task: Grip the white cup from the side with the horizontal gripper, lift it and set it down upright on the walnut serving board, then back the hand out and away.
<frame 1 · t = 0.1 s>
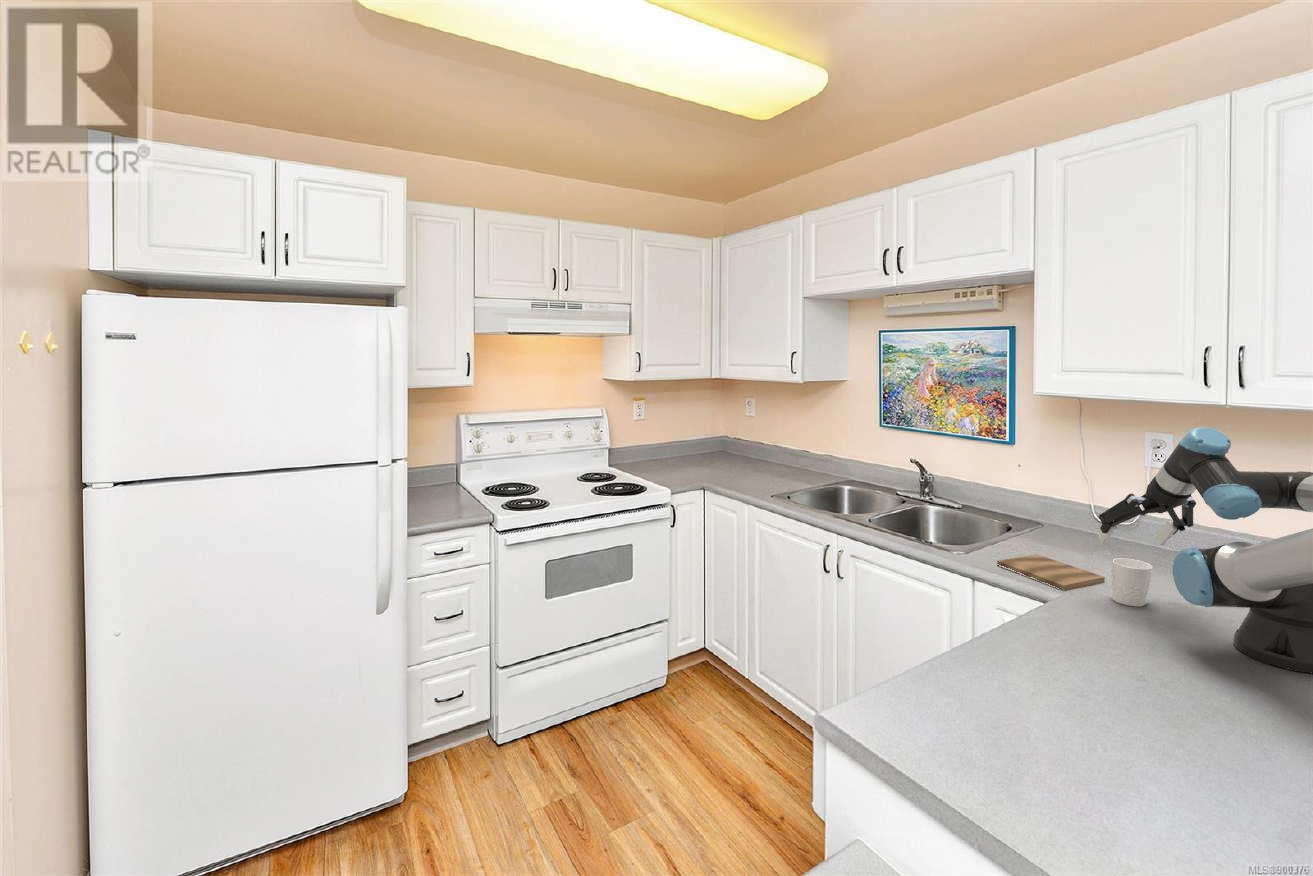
hand: (1129, 540, 153), 15 cm above the worktop, tool tilted 35°, fingers open, 13 cm apart
white cup: (1128, 602, 152), on the worktop
walnut board: (1048, 573, 171), on the worktop
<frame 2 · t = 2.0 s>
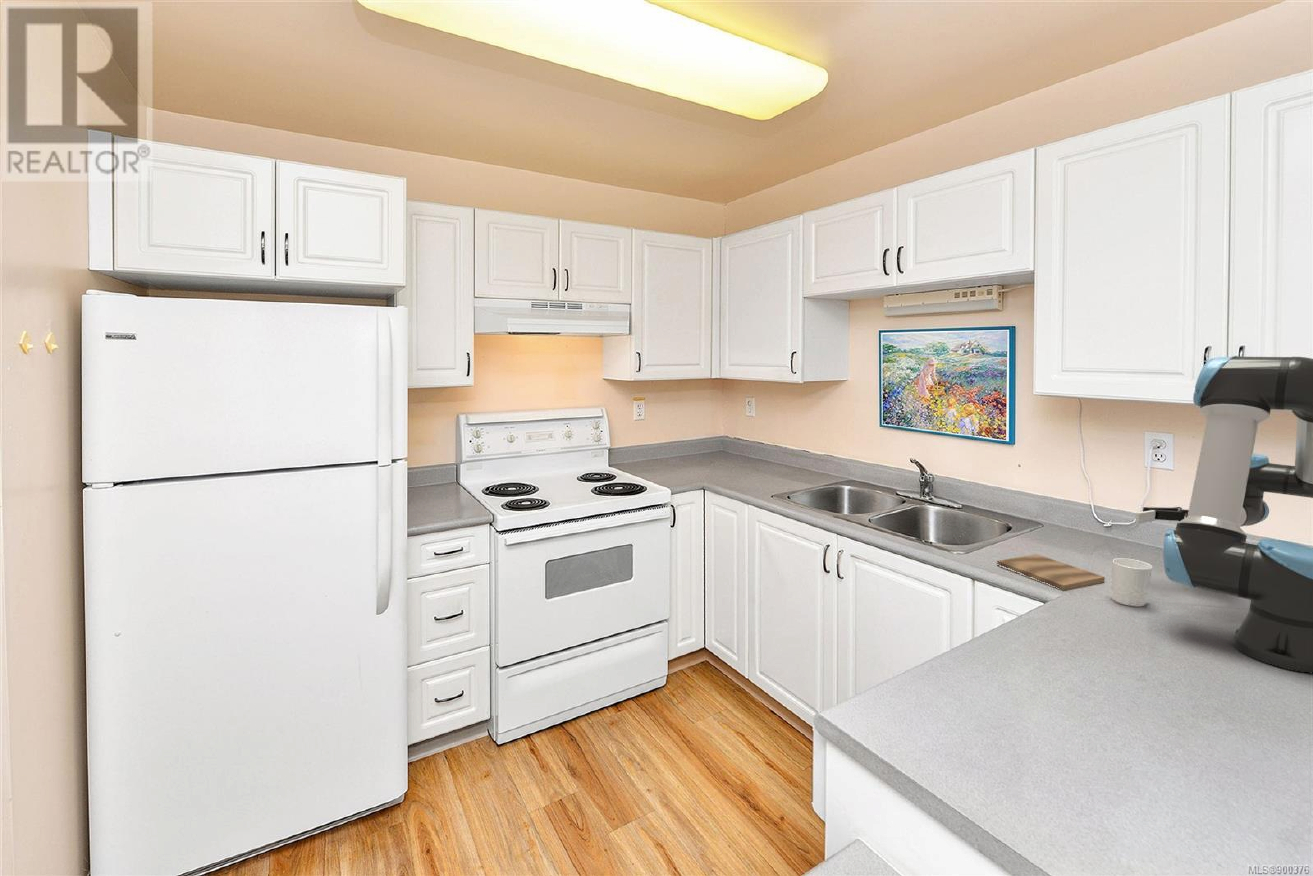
hand: (1166, 525, 151), 19 cm above the worktop, tool horizontal, fingers open, 13 cm apart
nothing on the worktop moved.
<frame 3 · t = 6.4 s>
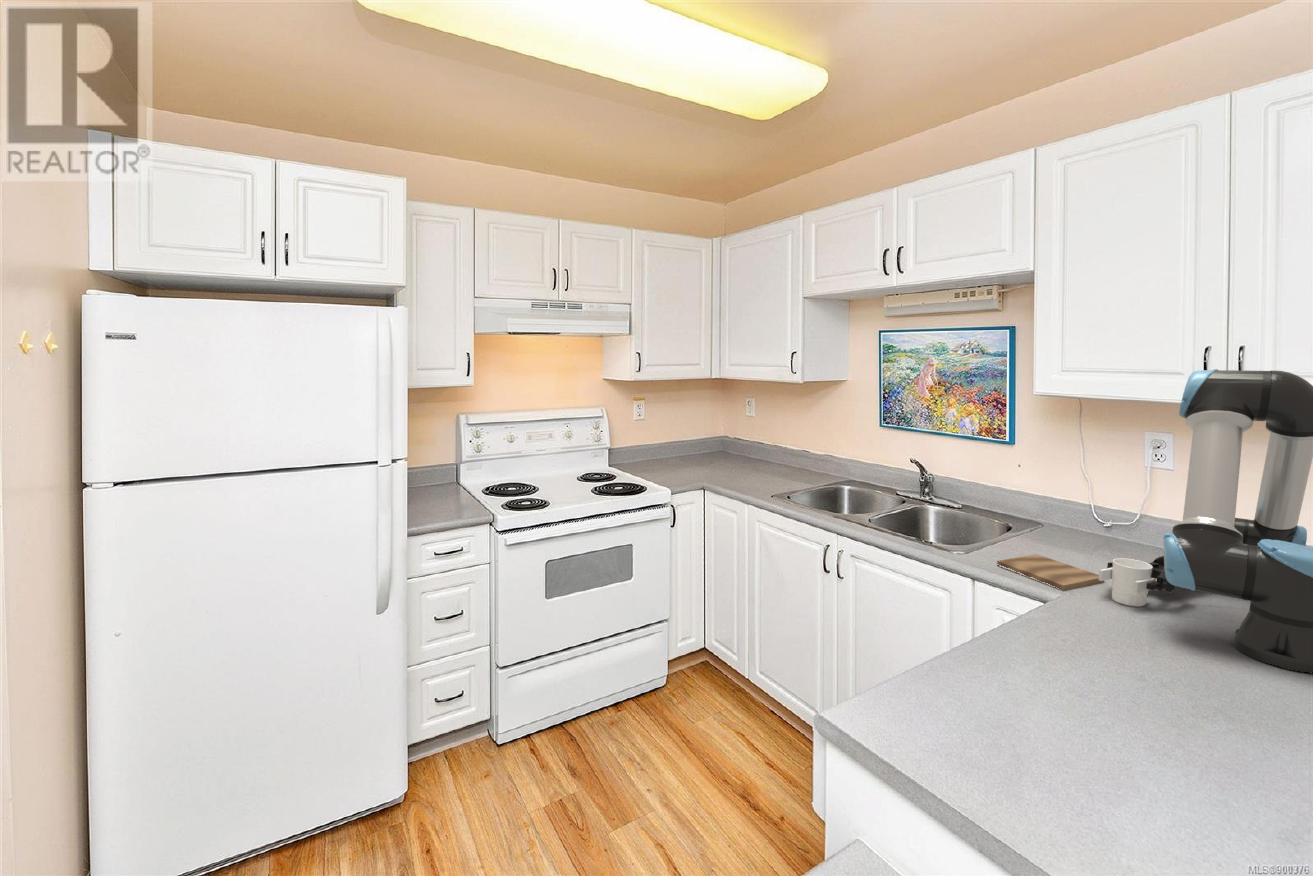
hand: (1117, 581, 150), 6 cm above the worktop, tool horizontal, fingers closed on white cup, 8 cm apart
white cup: (1128, 602, 152), on the worktop, touching gripper
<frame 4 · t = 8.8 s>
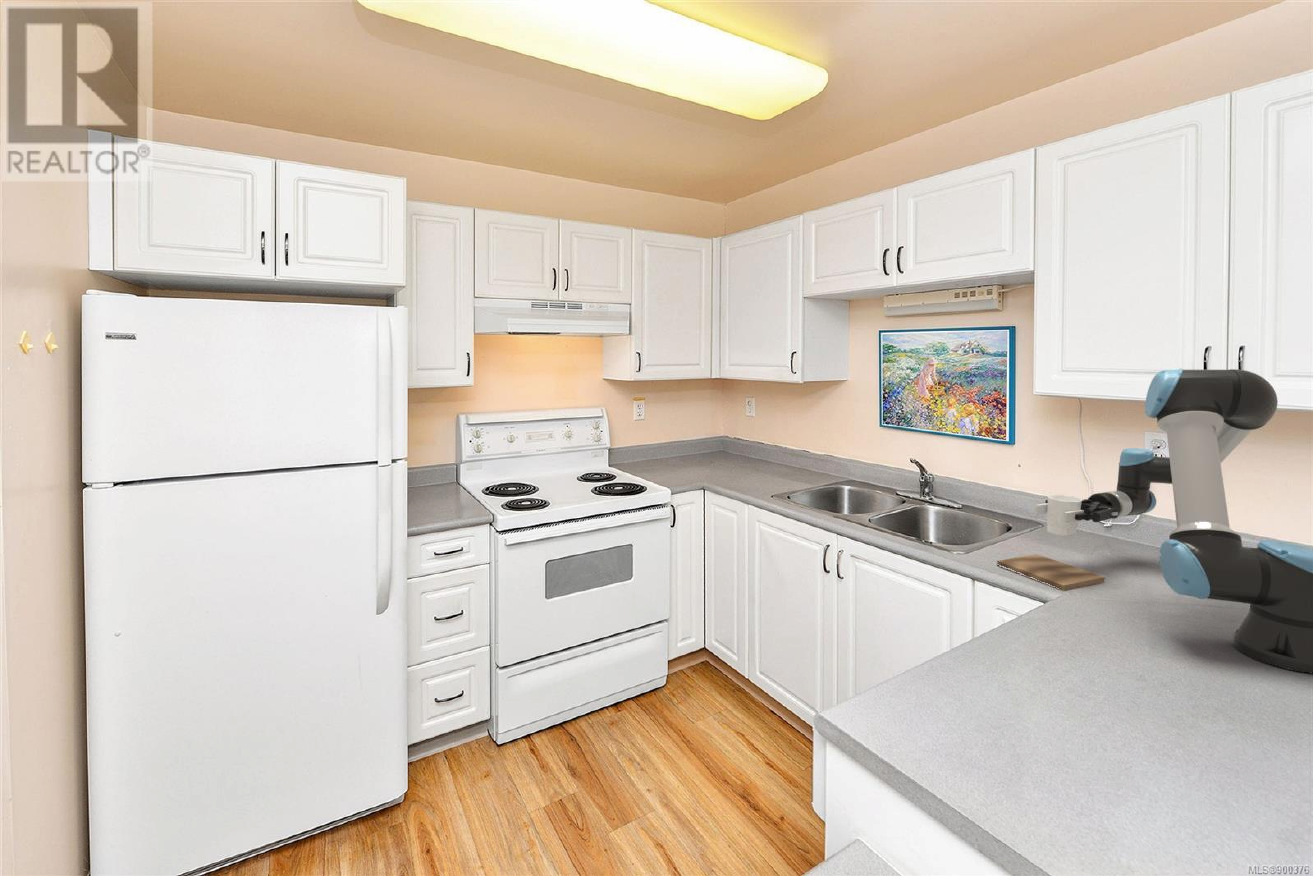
hand: (1050, 513, 166), 18 cm above the worktop, tool horizontal, fingers closed on white cup, 8 cm apart
white cup: (1061, 533, 168), point 12 cm above the worktop, touching gripper
when the fingers open (9 cm above the worktop, at t = 11.6 s): white cup drops 1 cm, resting on walnut board.
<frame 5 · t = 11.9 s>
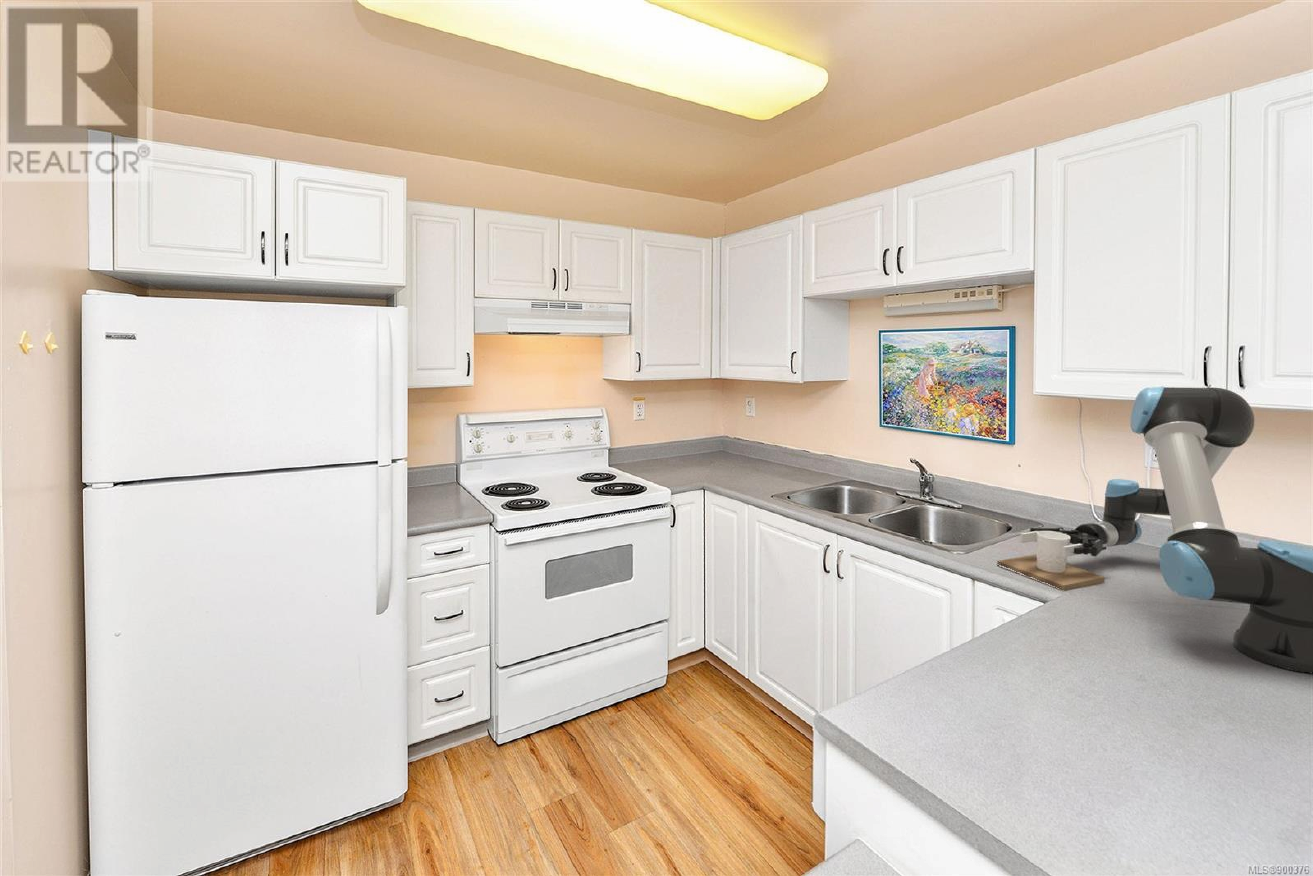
hand: (1041, 544, 169), 9 cm above the worktop, tool horizontal, fingers open, 12 cm apart
white cup: (1050, 569, 171), point 1 cm above the worktop, touching walnut board
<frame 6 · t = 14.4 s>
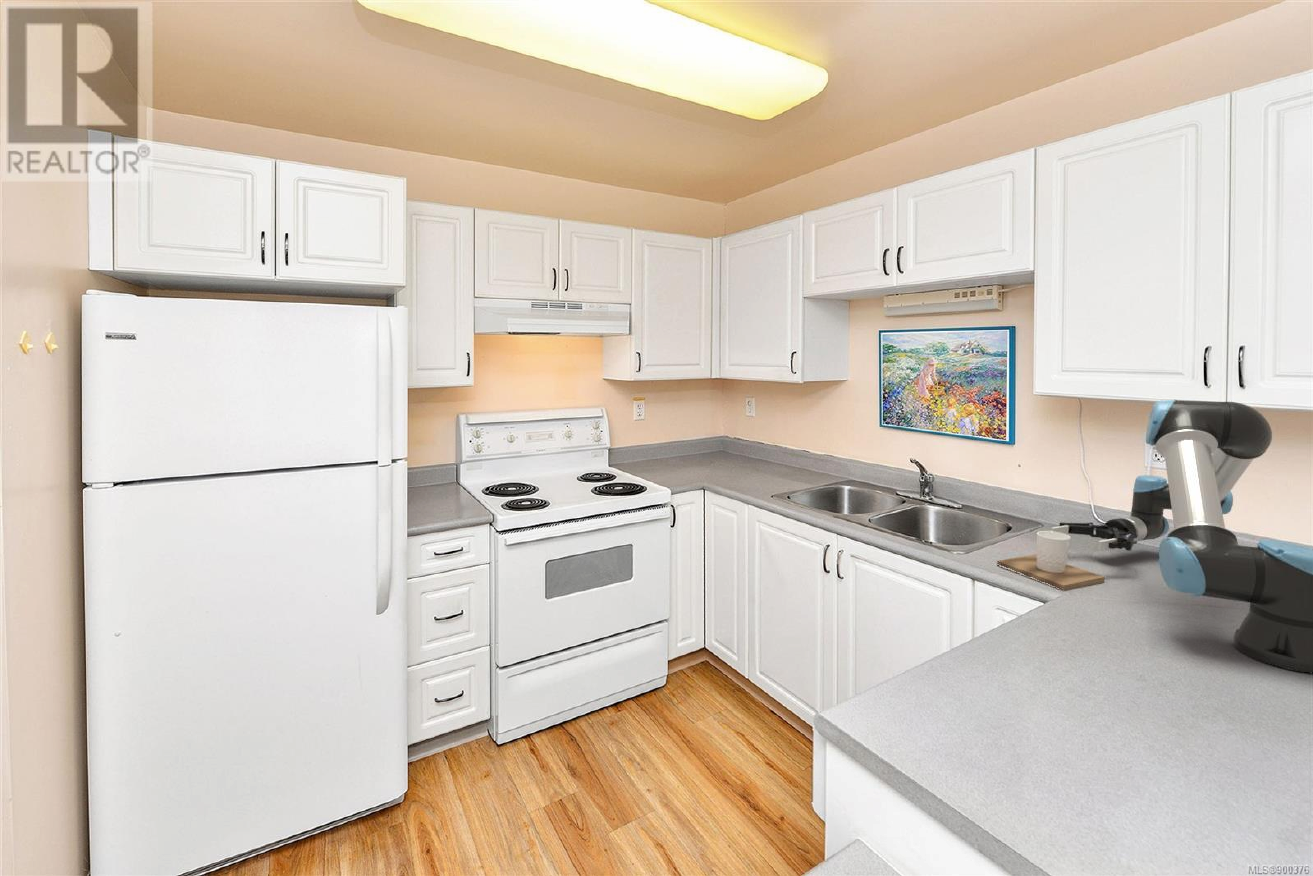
hand: (1074, 539, 173), 9 cm above the worktop, tool horizontal, fingers open, 13 cm apart
nothing on the worktop moved.
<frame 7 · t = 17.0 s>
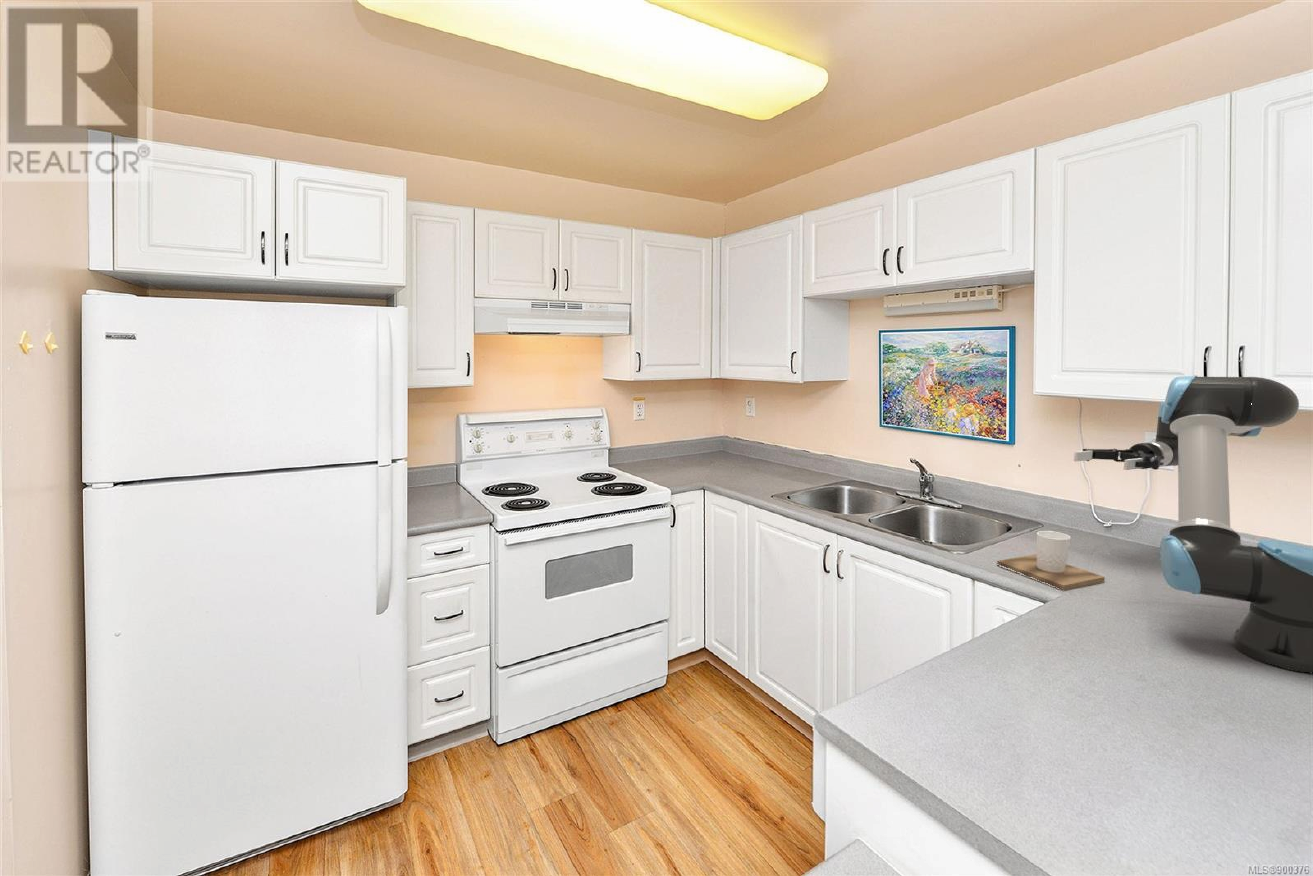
hand: (1099, 460, 169), 32 cm above the worktop, tool horizontal, fingers open, 13 cm apart
nothing on the worktop moved.
at the end: white cup inside the target area on the walnut board (0.4 cm from its centre), point 1.3 cm above the walnut board's base; white cup tilted 0°; the gripper is holding nothing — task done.
